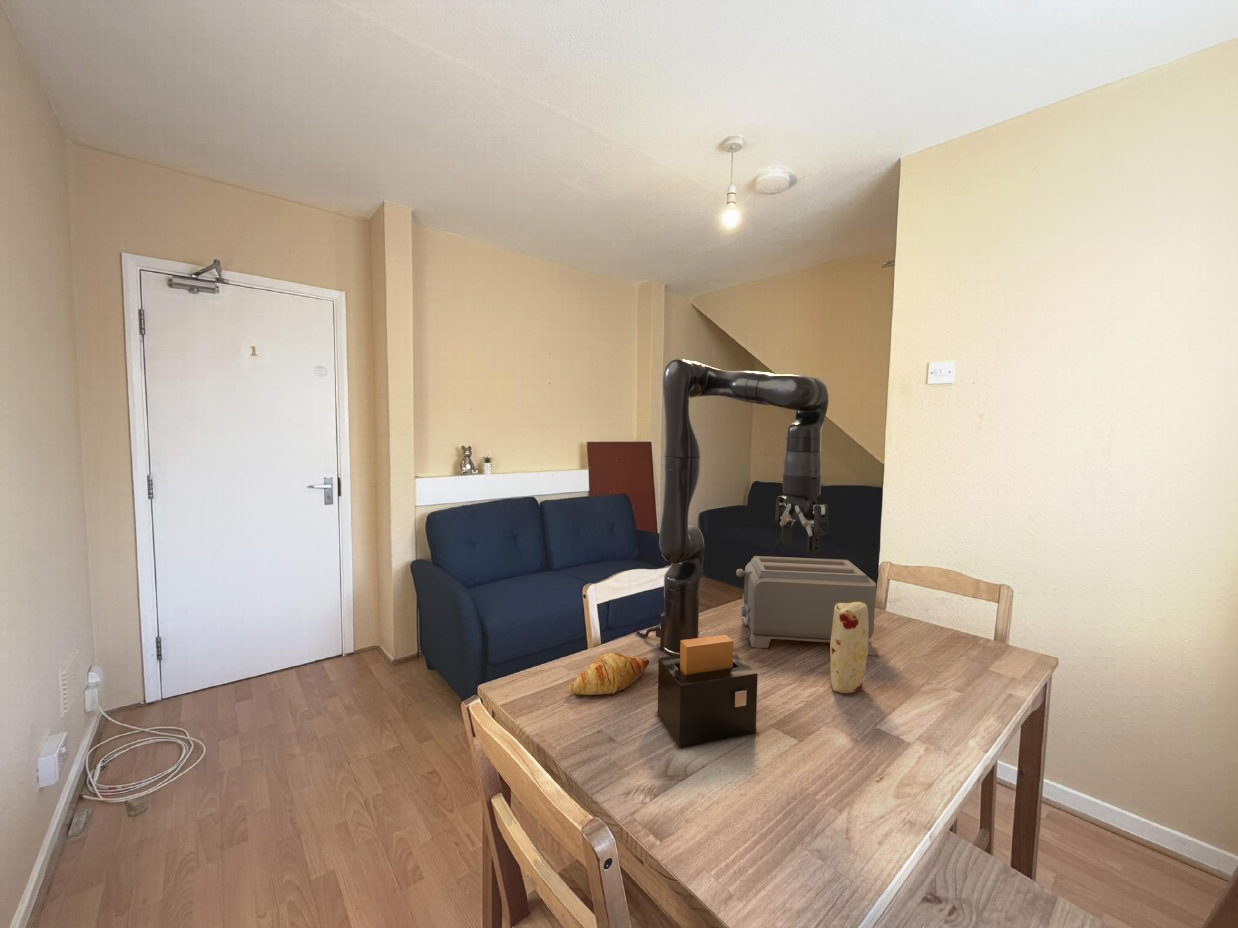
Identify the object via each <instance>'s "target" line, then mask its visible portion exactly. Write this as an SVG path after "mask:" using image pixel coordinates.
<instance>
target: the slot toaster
mask: <svg viewBox="0 0 1238 928" xmlns="http://www.w3.org/2000/svg"><path fill="white" fill-rule="evenodd" d="M657 661H658V663H657V716H658V717H659V719H660V720H661V722H662V723H663V725H664V727H665V728H666V729H667V731H668V733H669V734H670V736H671V738H672V739H673V741H674V743H675V744H676V746H677V747H678V749H683V748H687V747H693V746H699V745H703V744H704V745H705V744H708V743H714V742H718V741H723V740H728V739H734V738H738V737H744V736H748V735H749V736H750V735H753V734H757V709H758V707H757V706H758V705H757V704H758V676H759V675H758V673H759V672H757V671H756V670H755V669H754V668H752V667H751V666H750V665H749V664H748V663H746V662H745V660H743V659H742V658H741V657H740V656H738V654H736V653H735V652H734V651H733V668H729V669H723V670H716V671H710V672H703V673H696V674H690V675H683V673H682V672H681V671H680V655H676V656H674V655H669V656H662V657H658V660H657Z"/></svg>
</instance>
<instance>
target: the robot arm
mask: <svg viewBox="0 0 1238 928" xmlns="http://www.w3.org/2000/svg"><path fill="white" fill-rule="evenodd" d="M829 395H830V394H829V389H828V386H827V384H826V383H825V382H824V381H823V380H822V379H820V378H818V377H813V376H806V375H800V374H799V375H797V374H777V373H772V372H765V371H753V370H724V369H719V368H715V367H712V366H709V365H706V364H703V363H701V362H698V361H695V360H689V359H683V358H674V359H672V360H670V361H669V362H668V363H667V365H666V366H665V368H664V370H663V374H662V396H663V407H664V409H663V410H664V454H663V456H664V457H663V495H662V496H663V497H662V499H663V500H662V513H661V520H660V528H659V535H658V536H659V538H658V547H659V550H660V554H661V555H662V557H663V559H664V560H665V561H666V562H668V563H670V565H669V568H668V569H667V570H666V572H665V573H664V576H663V612H661V613H660V622H659V624H657V625H656V626H655V627H651V628H648V629H646V631H645V633H644V632H641V631H640V630H639V631H638V630H637V631H636V635H638V636H639V637H642V638H647V637H648V636H649V635H650V633H651V632H655V638H659V639H660V640H659V650H662V651H664V652H665V653H667V654H669V655H670V656H676V655H680V641H681V640H688V639H696V638H699V636H700V633H701V632H700V631H701V630H700V629H699V627H700V625H699V623H700V584H701V583H700V582H701V579H702V576H703V572H704V560H705V539H704V535H703V533H702V531H701V529H700V528H699V527H698V526H697V525H695V524H694V523H689V512H690V511H689V510H690V506H691V502H692V500H693V497H694V495H695V492H696V490H697V488H698V484H699V481H700V476H701V465H702V464H701V462H702V458H701V456H702V453H701V452H702V451H701V446H700V442H699V439H698V437H697V435H696V432H695V430H694V428H693V424H692V422H691V421H692V420H691V418H690V399H691V398H698V397H699V398H700V397H713V396H714V397H725V398H729V399H732V400H736V401H740V402H744V403H750V404H756V405H764V406H774V407H777V408H782V409H787V410H791V411H795V413H794V418H793V421H792V423H790V424H789V425H788V426H787V427H786V430H785V442H784V443H785V444H784V456H783V465H782V466H783V467H782V492H781V493H782V494H783V495H777V496H776V499H775V515H774V522H775V523H778V524H779V526H780V527H781V531H780V532H781V533H780V535H781V536H780V539H781V543H782V544H783V545H792V543H793V527H792V526H793V525H794V524H795V522H796V521H797V522H799V523H801V525H802V527H804V528H805V530H806V533H807V538H806V539H807V540H806V554H808V555H812V556H813V555H817V554H819V552H820V540H821V539H820V537H821V536H826V535H829V505H828V504H818V502H817V499H818V497H820V496H821V491H822V468H823V467H822V466H823V462H822V430H823V427H824V424H825V420H826V415H827V413H828V408H829V403H830V402H829V401H830V396H829ZM781 513H782V514H781ZM812 527H813V528H812ZM640 632H641V633H640Z"/></svg>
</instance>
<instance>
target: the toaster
mask: <svg viewBox="0 0 1238 928" xmlns="http://www.w3.org/2000/svg"><path fill="white" fill-rule="evenodd" d="M735 575H736V576H737V577H738V578H743V577H744V580H743V581H744V582H743V593H742V599H743V603H742V606H741V607H740V615H741V617H743V623H744V626H746V627H749V629H750V635H749V642H750V646H751V648H757V649H768V648H769V646H770V642H771V640H784V641H786V640H787V641H801V642H802V641H803V642H817V643H830V642H831V634H832V625H833V616H834V607H835V605H836V604H837V603H852V602H862V603H865V604H866V606H867V608H868V623H869V632H868V656H876V653H875V650H874V648H873V645H872V642H871V641H870V639H871V638H872V636H873V635H874V632H875V615H876V614H875V610H876V595H877V593H876V591H877V584H876V581H874V580H873V579H872V578H870V577H869V576H867V574H866V573H864V572H863V571H862V570H861V569H859V567H857V566H856V565H855V564H854V563H852V562H851V561H850V560H849V559H833V558H831V559H830V558H810V557H809V558H808V557H786V556H785V557H784V556H783V557H782V556H765V555H764V556H762V555H754V556H753V557H752V558H751V560H750V561H749V562H747V564H746V565H745V567H744V570H743V569H742V568H737V569H736V571H735Z"/></svg>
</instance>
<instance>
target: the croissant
mask: <svg viewBox="0 0 1238 928" xmlns="http://www.w3.org/2000/svg"><path fill="white" fill-rule="evenodd" d="M649 664H650V659H648V658H647V657H642V658H641V657H637V656H628V655H624V654H621V653H618V652H608V653H607V652H606V653H603V654H601V655H600V656H598V658H597V660H596V661H595V662H592V663H591V664H589V666H588V668H587V670H585V671H584V672H582V673H580V674H578V676H577V678H575V681H572V682H570V683H569V684H568V691H569V692H570V693H571V694H573V695H584V696H594V695H595V696H596V695H597V696H599V695H610V694H612V695H613V694H615V693H616V692H619V691H622V690H624V689H626V688H628V687H629V686H631V685H632V684H633V683H634V682H635V681H636V680H637V679H639V677H640V676H642V675H643V674H645V672H646V670H647V668H648V666H649Z"/></svg>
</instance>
